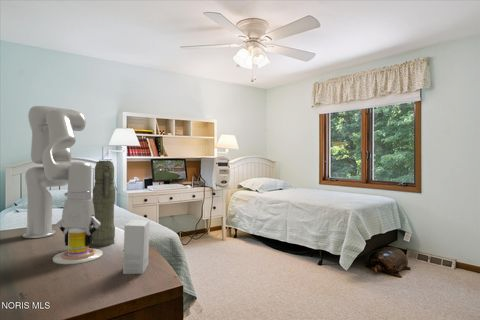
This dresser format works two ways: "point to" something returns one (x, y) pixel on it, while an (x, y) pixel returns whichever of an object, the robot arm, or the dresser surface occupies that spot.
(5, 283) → the dresser surface
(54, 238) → the dresser surface
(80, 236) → the supplement bottle
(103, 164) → the olive tall rounded piece
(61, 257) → the ring stand
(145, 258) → the skincare box
